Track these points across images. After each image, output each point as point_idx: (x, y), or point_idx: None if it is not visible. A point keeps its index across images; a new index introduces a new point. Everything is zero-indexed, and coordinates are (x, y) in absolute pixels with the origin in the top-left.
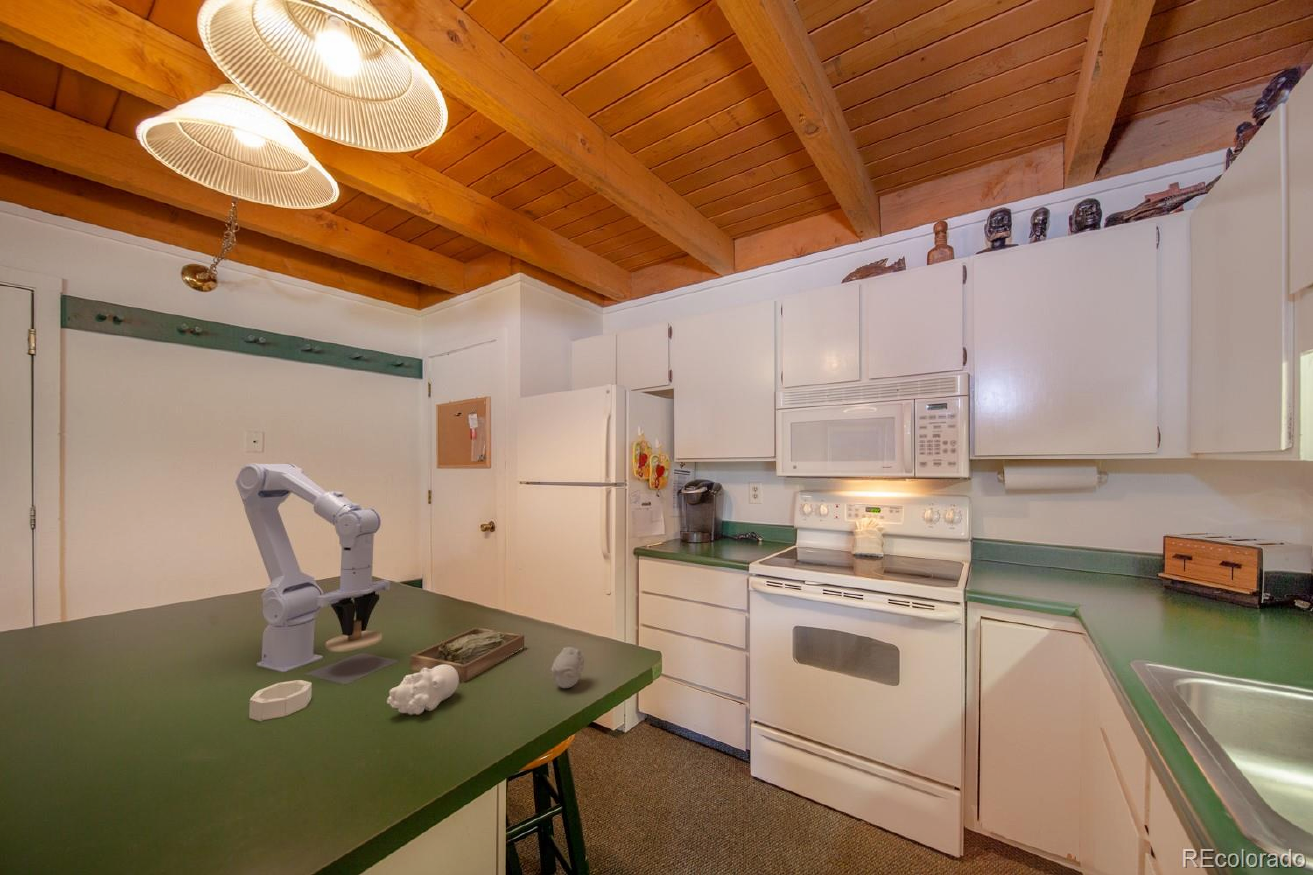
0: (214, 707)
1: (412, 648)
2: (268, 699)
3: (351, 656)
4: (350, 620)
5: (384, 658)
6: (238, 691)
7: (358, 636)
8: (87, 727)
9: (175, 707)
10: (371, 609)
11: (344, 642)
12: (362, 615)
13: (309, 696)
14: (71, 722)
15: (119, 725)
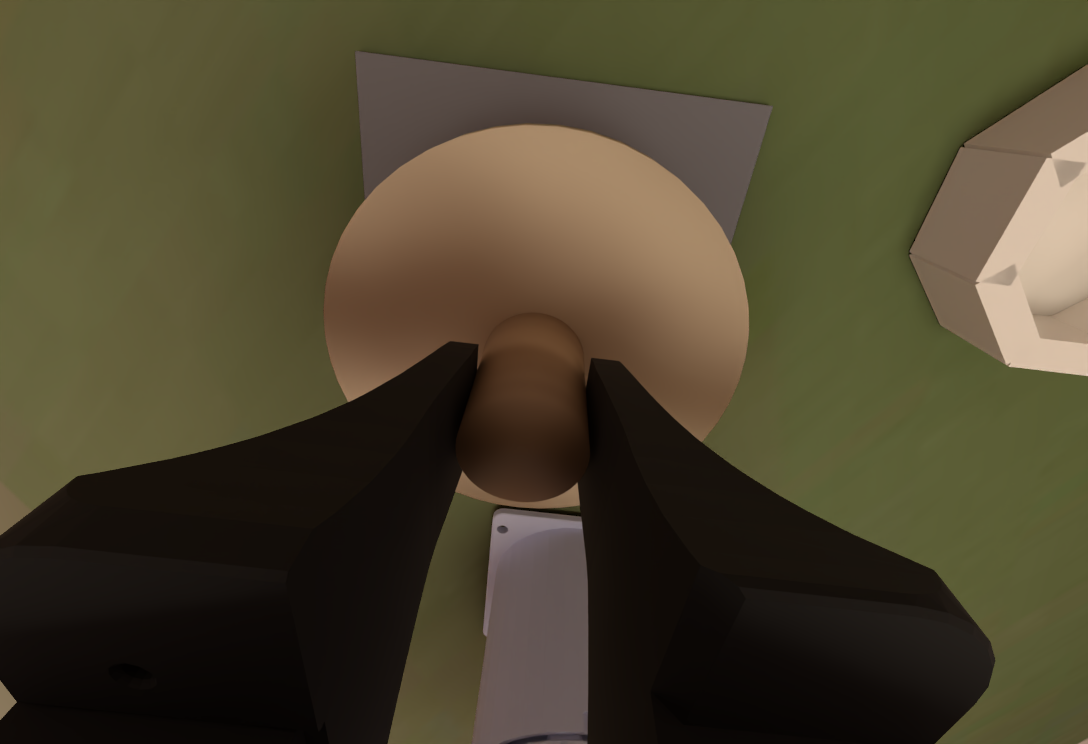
0: (982, 494)
1: (160, 168)
2: (1040, 319)
3: None
4: (674, 430)
5: None
6: None
7: (537, 325)
8: (1069, 667)
9: (961, 594)
10: (335, 424)
11: (629, 362)
12: (434, 462)
13: (1042, 115)
14: (1023, 712)
15: (1076, 619)
